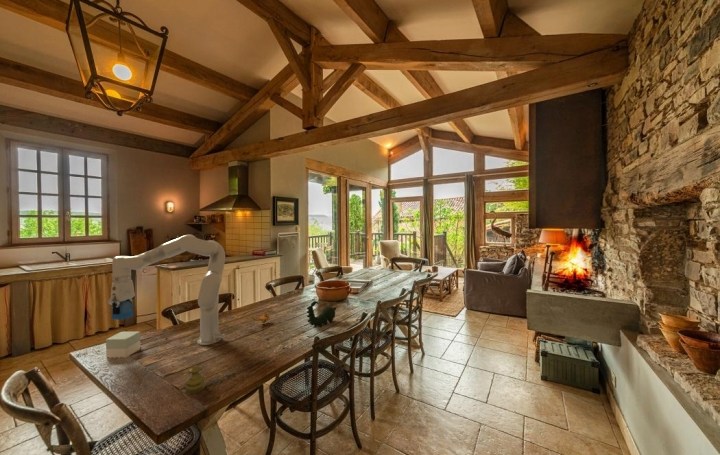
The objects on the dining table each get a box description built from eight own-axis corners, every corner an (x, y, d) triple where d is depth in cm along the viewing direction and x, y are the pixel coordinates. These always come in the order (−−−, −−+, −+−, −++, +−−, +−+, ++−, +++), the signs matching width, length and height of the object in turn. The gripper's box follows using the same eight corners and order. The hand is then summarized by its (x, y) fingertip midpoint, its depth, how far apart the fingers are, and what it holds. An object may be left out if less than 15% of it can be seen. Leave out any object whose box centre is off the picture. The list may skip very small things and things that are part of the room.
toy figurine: (314, 333, 182) (341, 320, 200) (312, 305, 180) (340, 294, 198) (305, 329, 188) (332, 316, 207) (303, 302, 187) (331, 292, 205)
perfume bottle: (121, 320, 146) (121, 297, 146) (112, 319, 147) (111, 296, 147) (133, 316, 152) (132, 294, 152) (124, 315, 153) (123, 293, 153)
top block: (140, 340, 155) (140, 331, 155) (125, 348, 145) (125, 339, 145) (121, 340, 155) (121, 331, 155) (106, 348, 145) (105, 339, 145)
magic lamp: (248, 327, 187) (247, 311, 186) (269, 319, 202) (269, 304, 202) (254, 329, 183) (254, 313, 183) (275, 321, 199) (275, 305, 199)
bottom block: (140, 349, 155) (140, 340, 155) (125, 358, 145) (125, 348, 145) (122, 349, 155) (122, 340, 155) (106, 358, 145) (106, 348, 145)
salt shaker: (181, 392, 117) (181, 368, 116) (197, 382, 124) (197, 360, 123) (193, 396, 114) (193, 372, 114) (209, 386, 121) (209, 363, 121)
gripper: (114, 282, 140) (115, 317, 141) (141, 275, 158) (142, 306, 158) (99, 282, 141) (100, 317, 141) (128, 275, 158) (129, 306, 158)
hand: (122, 311), depth 150 cm, fingers closed on perfume bottle, 7 cm apart
